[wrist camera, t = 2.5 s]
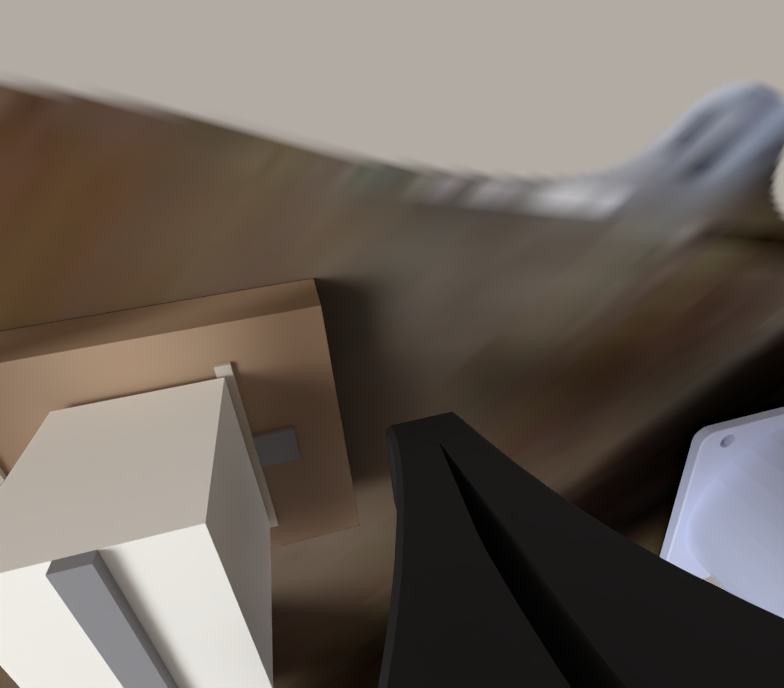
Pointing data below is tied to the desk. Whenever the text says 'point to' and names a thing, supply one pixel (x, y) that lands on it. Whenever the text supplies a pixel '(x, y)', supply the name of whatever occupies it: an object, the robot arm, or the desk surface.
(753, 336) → the desk surface
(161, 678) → the fader tab
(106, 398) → the fader board
